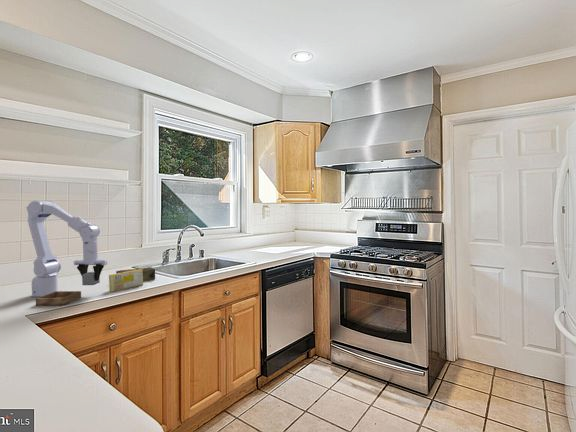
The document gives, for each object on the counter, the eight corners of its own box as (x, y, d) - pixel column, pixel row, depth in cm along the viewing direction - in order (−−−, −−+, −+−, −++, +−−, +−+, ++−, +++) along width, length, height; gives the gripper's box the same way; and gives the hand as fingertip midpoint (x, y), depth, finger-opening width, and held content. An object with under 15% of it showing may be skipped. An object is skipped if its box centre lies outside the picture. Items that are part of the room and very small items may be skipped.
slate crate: (82, 285, 149) (82, 274, 149) (89, 282, 154) (88, 272, 154) (93, 285, 149) (92, 274, 149) (99, 282, 154) (99, 272, 154)
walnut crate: (35, 305, 136) (35, 298, 136) (55, 297, 148) (55, 291, 148) (63, 305, 136) (63, 298, 136) (81, 297, 148) (80, 291, 147)
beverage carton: (155, 279, 183) (155, 268, 183) (118, 285, 171) (117, 272, 171) (152, 277, 189) (151, 266, 189) (115, 282, 178) (115, 270, 177)
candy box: (141, 284, 172) (141, 269, 171) (143, 285, 170) (143, 269, 170) (109, 291, 159) (108, 274, 159) (110, 291, 158) (110, 274, 157)
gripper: (110, 250, 155) (111, 278, 155) (80, 250, 155) (81, 278, 156) (102, 252, 148) (102, 281, 148) (70, 252, 148) (71, 281, 148)
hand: (91, 280), depth 151 cm, fingers closed on slate crate, 5 cm apart
